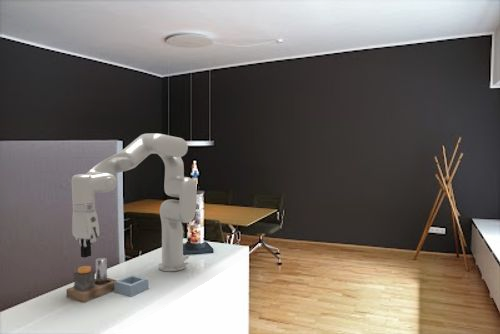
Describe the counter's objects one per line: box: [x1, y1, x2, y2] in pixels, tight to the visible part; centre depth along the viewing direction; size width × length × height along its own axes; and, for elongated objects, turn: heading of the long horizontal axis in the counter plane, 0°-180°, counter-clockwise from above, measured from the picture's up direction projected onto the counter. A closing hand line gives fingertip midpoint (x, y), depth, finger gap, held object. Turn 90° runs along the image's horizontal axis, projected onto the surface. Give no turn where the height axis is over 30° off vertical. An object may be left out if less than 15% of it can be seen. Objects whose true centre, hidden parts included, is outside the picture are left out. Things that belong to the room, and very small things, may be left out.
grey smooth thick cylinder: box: [95, 257, 108, 285], centre depth 149 cm, size 4×4×12 cm
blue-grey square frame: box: [113, 274, 149, 297], centre depth 149 cm, size 9×9×4 cm
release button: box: [77, 265, 92, 274], centre depth 142 cm, size 4×4×8 cm
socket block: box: [65, 270, 118, 303], centre depth 146 cm, size 16×10×9 cm, turn 150°
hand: (86, 256), depth 142 cm, fingers closed
